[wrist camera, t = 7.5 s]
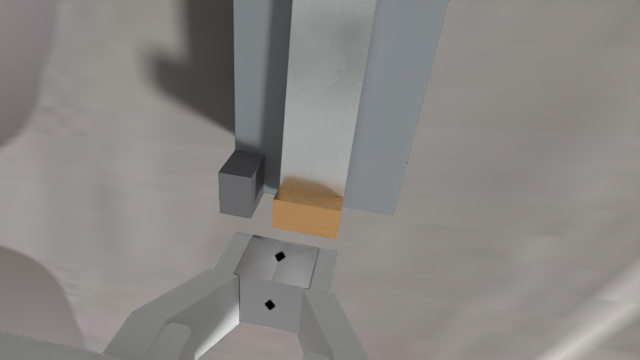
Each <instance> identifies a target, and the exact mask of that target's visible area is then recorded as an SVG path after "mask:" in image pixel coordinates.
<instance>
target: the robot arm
mask: <svg viewBox="0 0 640 360" xmlns="http://www.w3.org/2000/svg"><path fill="white" fill-rule="evenodd" d="M336 256H337V251H336V250H330V249H324V248H317V247H312V246H306V245H301V244H296V243H290V242H285V241H280V240H275V239H271V238H266V237H261V236H257V235H250V234H246V233H241V232H236V233H235V234H234V235H233V237H232V239H231V241H230V242H229V244H228V246H227V248H226V250H225V251H224V253H223V255H222V257H221V259H220V260H219V262H218V264H217V266H216V267H215V269H214V270H210V269H209V270H207V271H205V272H203V273H201V274H200V275H198V276H196V277H194V278H192V279H191V280H189V281H187V282H185V283H183V284H182V285H180V286H178V287H176V288H174V289H173V290H171V291H169V292H167V293H165V294H164V295H162V296H160V297H158V298H156V299H155V300H153V301H151V302H149V303H147V304H146V305H144V306H142V307H140V308H138V309H137V310H135V311H133V312H132V313H131V314H130V316H129V317H128V318H127V320H126V321H125V323H124V324H123V325H122V327H121V328H120V329H119V331H118V332H117V334H116V335H115V336H114V338H113V339H112V341H111V342H110V343H109V345H108V346H107V348H106V349H105V350H104V352H103V353H99V352H95V351H90V350H86V349H81V348H77V347H72V346H68V345H64V344H59V343H55V342H50V341H46V340H41V339H37V338H33V337H28V336H24V335H20V334H15V333H11V332H6V331H2V330H0V360H196V359H198V358H199V357H200V356H201V355H202V354H203V353H205V352H206V351H207V350H208V349H209V348H211V347H212V346H213V345H214V344H215V343H216V342H218V341H219V340H220V339H221V338H222V337H223V336H225V335H226V334H227V333H228V332H229V331H231V330H232V329H233V328H234V327H235V326H236V325H238V324H239V321H240V322H246V323H251V324H257V325H262V326H268V327H272V328H276V329H280V330H285V331H289V332H293V333H297V334H298V337H299V340H300V343H301V346H302V349H303V352H304V356H303V359H302V360H370V359H369V357H368V355H367V354H366V352H365V350H364V348H363V346H362V344H361V342H360V341H359V339H358V337H357V335H356V333H355V331H354V330H353V328H352V326H351V324H350V322H349V320H348V318H347V317H346V315H345V313H344V311H343V309H342V307H341V306H340V304H339V302H338V300H337V298H336V296H335V295H334V294H330V290H331V285H332V279H333V273H334V267H335V261H336Z"/></svg>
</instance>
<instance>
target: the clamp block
mask: <svg viewBox="0 0 640 360" xmlns="http://www.w3.org/2000/svg"><path fill="white" fill-rule="evenodd" d="M448 2H449V0H377V1H376V7H375V13H374V19H373V25H372V31H371V37H370V43H369V49H368V55H367V60H366V66H365V72H364V78H363V84H362V90H361V96H360V102H359V108H358V114H357V120H356V126H355V132H354V138H353V144H352V150H351V156H350V162H349V168H348V174H347V180H346V186H345V192H344V198H343V204H342V207H348V208H354V209H359V210H365V211H371V212H376V213H382V214H388V215H393V214H394V210H395V207H396V203H397V199H398V195H399V191H400V187H401V183H402V180H403V176H404V172H405V168H406V164H407V160H408V156H409V153H410V149H411V145H412V141H413V137H414V133H415V129H416V126H417V122H418V118H419V114H420V110H421V106H422V102H423V99H424V95H425V91H426V87H427V83H428V79H429V75H430V71H431V68H432V64H433V60H434V56H435V52H436V48H437V44H438V41H439V37H440V33H441V29H442V25H443V21H444V17H445V14H446V10H447V6H448ZM292 4H293V0H233V8H234V79H235V151H234V152H233V154H232V155H231V156H230V158H229V159H228V160H227V162H226V163H225V164H224V166H223V167H222V168H221V170H220V171H219V172H218V177H219V201H220V213H223V214H229V215H234V216H240V217H245V218H251V217H252V215H253V213H254V211H255V209H256V207H257V205H258V203H259V201H260V199H261V197H262V195H263V193H268V194H274V195H276V193H277V191H278V189H279V186H280V174H281V160H282V146H283V132H284V117H285V103H286V89H287V75H288V61H289V47H290V32H291V18H292Z"/></svg>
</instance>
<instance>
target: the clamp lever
mask: <svg viewBox="0 0 640 360" xmlns="http://www.w3.org/2000/svg"><path fill="white" fill-rule="evenodd" d="M376 1H377V0H293V4H292V18H291V32H290V47H289V61H288V75H287V89H286V103H285V117H284V132H283V146H282V160H281V174H280V186H279V189H278V191H277V193H276V195H275V197H274V199H273V209H272V226H271V227H273V228H279V229H284V230H290V231H295V232H301V233H306V234H312V235H317V236H323V237H328V238H334V239H336V238H337V232H338V226H339V221H340V215H341V210H342V204H343V198H344V192H345V186H346V180H347V174H348V168H349V162H350V156H351V150H352V144H353V138H354V132H355V126H356V120H357V114H358V108H359V102H360V96H361V90H362V84H363V78H364V72H365V66H366V60H367V55H368V49H369V43H370V37H371V31H372V25H373V19H374V13H375V7H376Z"/></svg>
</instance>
